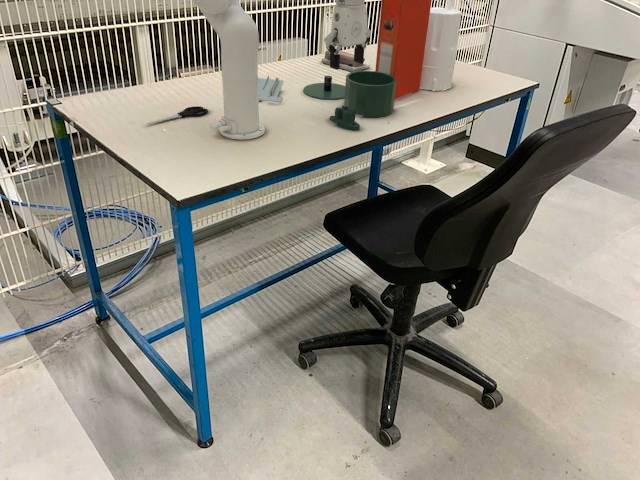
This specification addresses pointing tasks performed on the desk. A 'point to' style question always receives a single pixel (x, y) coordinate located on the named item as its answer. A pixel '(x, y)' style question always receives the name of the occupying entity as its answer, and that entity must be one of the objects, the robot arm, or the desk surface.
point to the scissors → (187, 113)
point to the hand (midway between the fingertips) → (346, 65)
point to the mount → (345, 118)
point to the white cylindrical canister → (440, 47)
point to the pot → (370, 93)
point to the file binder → (403, 42)
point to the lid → (325, 90)
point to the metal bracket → (269, 89)
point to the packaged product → (346, 62)
